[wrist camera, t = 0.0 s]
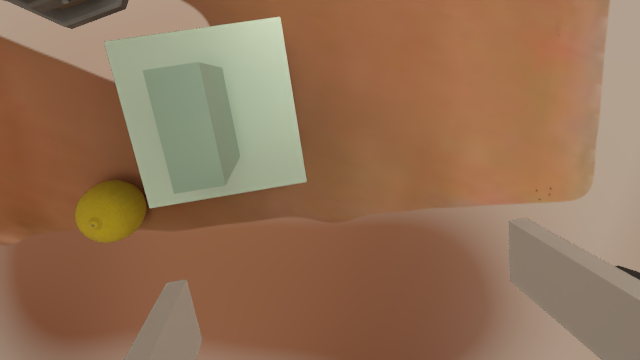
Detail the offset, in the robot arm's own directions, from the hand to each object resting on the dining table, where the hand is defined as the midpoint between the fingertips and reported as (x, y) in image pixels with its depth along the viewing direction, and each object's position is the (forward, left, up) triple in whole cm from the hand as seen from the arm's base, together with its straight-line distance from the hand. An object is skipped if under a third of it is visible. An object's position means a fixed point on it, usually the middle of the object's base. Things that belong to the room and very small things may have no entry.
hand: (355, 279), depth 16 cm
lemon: (+1, -19, -27) cm, 33 cm away
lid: (-6, -7, -20) cm, 22 cm away
